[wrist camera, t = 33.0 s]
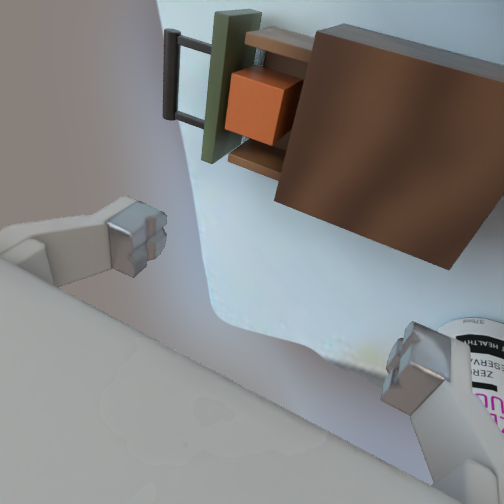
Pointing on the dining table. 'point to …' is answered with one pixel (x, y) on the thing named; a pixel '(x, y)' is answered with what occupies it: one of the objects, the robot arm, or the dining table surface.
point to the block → (262, 103)
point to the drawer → (221, 68)
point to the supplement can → (483, 360)
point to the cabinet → (397, 142)
